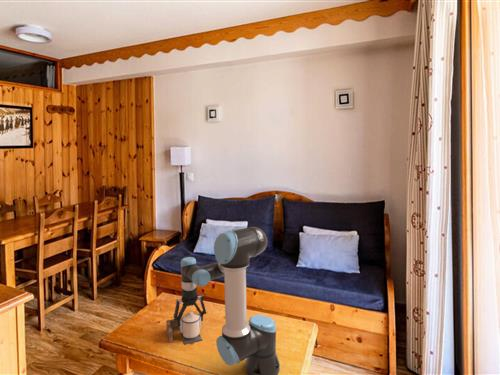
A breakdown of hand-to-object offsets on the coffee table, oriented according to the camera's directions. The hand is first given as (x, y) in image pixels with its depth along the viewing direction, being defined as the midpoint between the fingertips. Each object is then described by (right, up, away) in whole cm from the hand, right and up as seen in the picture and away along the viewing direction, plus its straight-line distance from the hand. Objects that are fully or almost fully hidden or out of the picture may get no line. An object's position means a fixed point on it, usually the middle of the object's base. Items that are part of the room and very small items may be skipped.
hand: (190, 329), depth 168 cm
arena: (-2, -4, +1) cm, 4 cm away
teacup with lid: (-1, -2, 0) cm, 2 cm away
